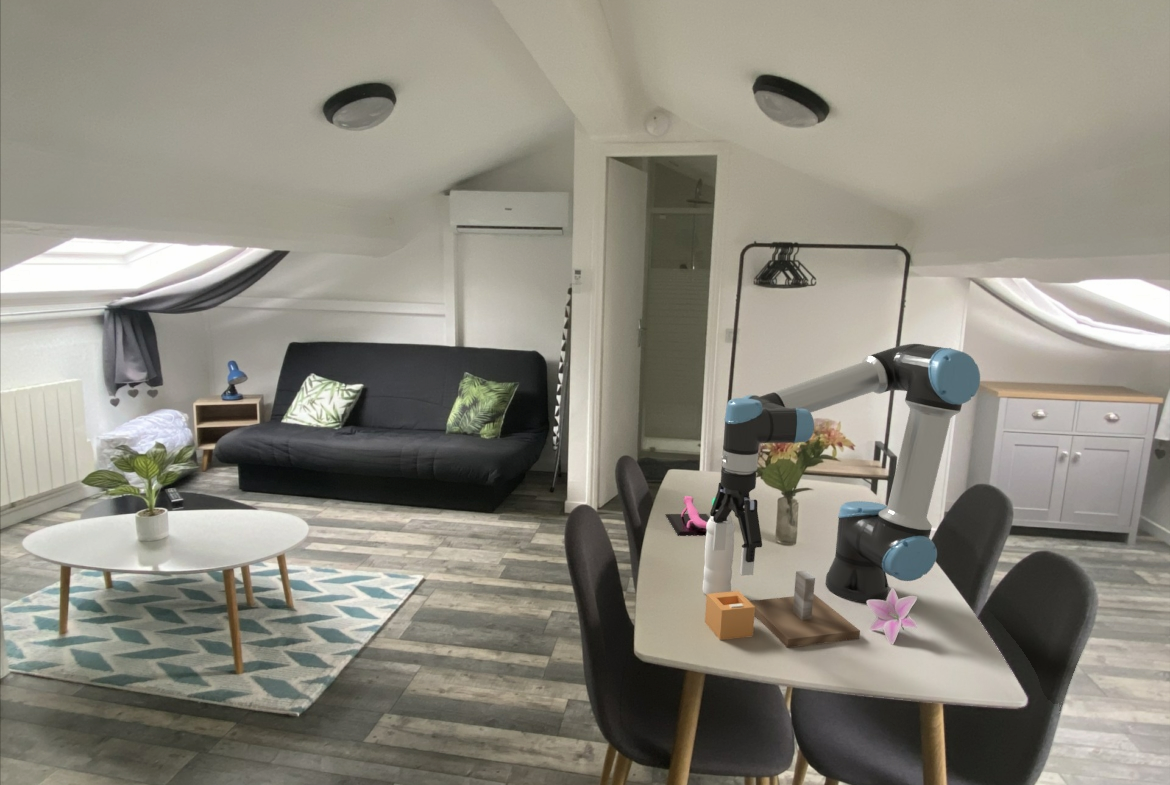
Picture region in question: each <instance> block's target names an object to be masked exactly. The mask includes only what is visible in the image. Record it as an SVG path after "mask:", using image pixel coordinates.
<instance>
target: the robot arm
mask: <svg viewBox="0 0 1170 785" xmlns="http://www.w3.org/2000/svg"><path fill="white" fill-rule="evenodd" d="M980 384H981V374H980V369H979V366H978V364H977V363H976V361H975V359H974V358H973V357H972V356H971V355H970V354H968V353H967V352H964V351H960V350H959V349H958V350H957V349H953V348H952V347H941V346H933V345H927V344H922V343H908V344H902V345H899V346H896V347H895V346H894V347H892V348H888V349H885V350H882V351H879V352H876V353H873V354H871V355H868V356H867V355H866V356H865V357H864V358H863V359H862V361H861V362H860V363H857V364H854V365H851V366H848V367H845V368H842V369H839V370H835V371H833V372H830V373H826V374H824V375H821V376H818V377H815V378H812V379H810V380H806V381H803V382H800V383H797V384H794V385H791V386H788V387H786V388H783V389H779V390H776V391H774V392H770V393H766V394H763V395H760V396H759V395H755V394H753V395H752V394H748V395H745V396H743V397H737V398H732V399H730V400H728V402H727V403H726V409H725V415H724V430H723V432H724V434H723V435H724V437H723V446H722V448H723V450H722V455H721V461H722V463H721V467H722V469H721V471H720V472H721V473H720V482H719V483H718V488H717V492H716V495H715V497H716V498H715V497H714V498H715V500H714V503H713V506H711V510H710V511H709V516H710V517H711V516H713V520H714V522H715V526H714V539H713V550H714V551H717V550H725V541H726V528H727V523H726V522H723V521H728V520H727V517H728V515H729V514H730V515H731V513H732V512H733V513H734V516H735V518H737V521H738V523H739V529H740V533H741V535H742V540H743V544H742V545H741V554H740V556H741V557H740V569H739V575H740V576H753V575H754V569H755V568H754V567H755V557H756V556H755V554H756V548H762V547H763V542H762V541H763V540H762V534H761V528H760V527H761V526H760V521H759V520H760V519H759V514H758V500H757V499H751V497H750V492H751V491H753V490H755V489H756V485H757V472H756V471H757V470H758V460H759V449H760V444H797V443H798V444H799V443H805V442H808V441H809V440H810V439H811V438H812V436H813V434H814V428H815V422H814V420H815V419H814V417H813V414H812V413H814V412H817V411H820V410H823V409H825V408H829V407H832V406H834V405H837V404H840V403H843V402H846V401H849V400H853V399H856V398H858V397H861V396H864V395H868V394H870V393H873V392H874V393H875V394H878V395H880V394H883V393H887V392H891V391H892V392H893V391H903V392H906V395H905V399H904V402H905V404H906V405H907V406H908V408H909V413H908V417H907V422H906V425H905V430H904V434H903V439H902V442H901V443H902V444H901V447H900V451H899V456H898V460H897V464H896V468H895V473H894V477H893V480H892V486H891V491H890V494H889V498H888V503H887V505H886V504H883V503H880V502H879V503H878V502H873V501H865V500H864V501H863V500H862V501H860V500H857V501H847V502H844V503H843V504H841V505H840V508H839V513H838V517H837V518H838V523H837V524H838V525H837V533H836V544H835V555H834V558H833V561H832V563H831V565H830V568H829V570H828V572H827V573H826V576H825V587H826V588H827V589H828V590H829V591H830V592H831V593H833V594H834V595H836V596H838V597H841V598H844V599H846V600H850V601H856V602H859V603H860V602H862V603H867V600H872V599H875V600H884V601H885V600H887V596H888V594H889V591H890V590H889V588H890V586H889V583H888V582H889V581H888V577H887V575H888V576H891V577H893V578H895V579H897V580H899V581H903V582H911V581H916V580H919V579H921V578H923V576H924V575H927V574H928V573H929V572H930V571H931V570H932V568H933V567H934V565H935V563H936V561H937V558H938V550H937V547H936V545H935V543H934V541H932V540H931V538H930V536H931V532H932V527H933V525H932V524H931V523H930V521H929V520H928V513H929V510H930V505H931V500H932V497H933V493H934V488H935V486H936V485H935V484H936V480H937V476H938V472H939V468H940V464H941V460H942V455H943V452H944V448H945V443H946V440H947V439H946V438H947V435H948V431H949V428H950V427H949V426H950V423H951V419H952V418H953V417H954V416H955V415H957V414H960V413H961V410H962V407H963V404H965V403H968V402H969V401H971V400H972V397H975V395H976V394H977V393H978V390H979V389H980ZM716 510H718V511H716Z"/></svg>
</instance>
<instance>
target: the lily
mask: <svg viewBox="0 0 1170 785" xmlns="http://www.w3.org/2000/svg"><path fill="white" fill-rule="evenodd" d="M917 600H918V596H917V595H909V596H905V597H902V598H901V597H900V598H899V597H898V594H897V592H896V590H895V588H894V587H891V589H890V590H889V591H888V596H887V598H886V599H884V600H875V599H872V600H867V602H866V605H867V606H868V608H869V609H870V611H871V612H872V613H873V614H874V615H875V616H876V619H875V620H874V621H873V622H872V624H871V626H870V627H869V630H870V631H878V630H882V629H883V631H884V632H883V633H884V635H885V638H886V639H887V641H888V643H889V644H890V645H894V644H895V642H896V639H897V637H898V634H899V633H900V632H899V631H900V629H901V628H902V630H903V631H904V630H905V628H906V629H918V625H917V624H916V622H915V621H914V620H913V619H912V618H911V616H910V615H909V612H910V611H911V609H912V607H913V606H914V605H915V603H916V602H917Z"/></svg>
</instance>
